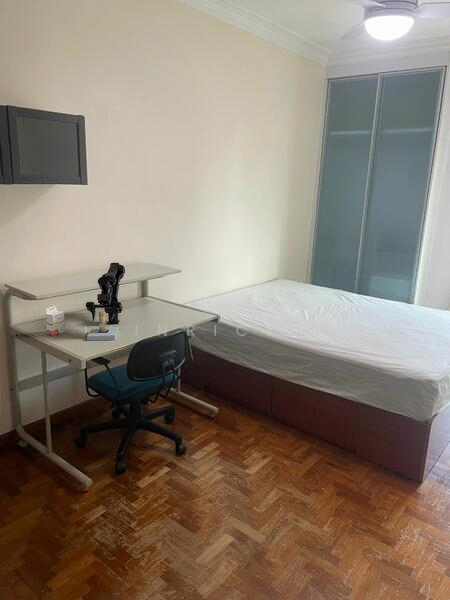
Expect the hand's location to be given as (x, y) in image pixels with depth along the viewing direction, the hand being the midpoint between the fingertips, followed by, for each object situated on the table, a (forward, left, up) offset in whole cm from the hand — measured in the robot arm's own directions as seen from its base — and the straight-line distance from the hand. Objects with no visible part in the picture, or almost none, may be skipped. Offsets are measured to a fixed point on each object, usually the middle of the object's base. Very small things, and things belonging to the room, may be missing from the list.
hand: (102, 320), depth 235 cm
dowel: (-1, 0, -8) cm, 8 cm away
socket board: (-1, 0, -9) cm, 9 cm away
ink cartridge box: (-7, -26, -9) cm, 28 cm away
